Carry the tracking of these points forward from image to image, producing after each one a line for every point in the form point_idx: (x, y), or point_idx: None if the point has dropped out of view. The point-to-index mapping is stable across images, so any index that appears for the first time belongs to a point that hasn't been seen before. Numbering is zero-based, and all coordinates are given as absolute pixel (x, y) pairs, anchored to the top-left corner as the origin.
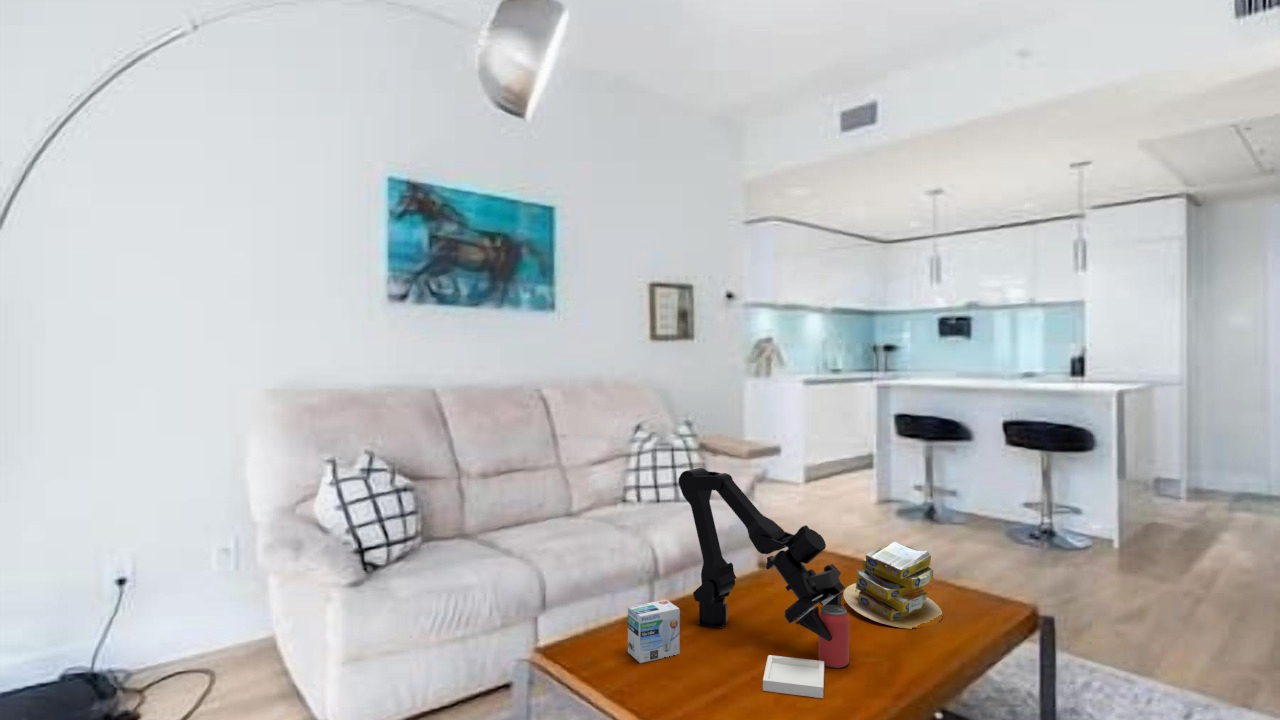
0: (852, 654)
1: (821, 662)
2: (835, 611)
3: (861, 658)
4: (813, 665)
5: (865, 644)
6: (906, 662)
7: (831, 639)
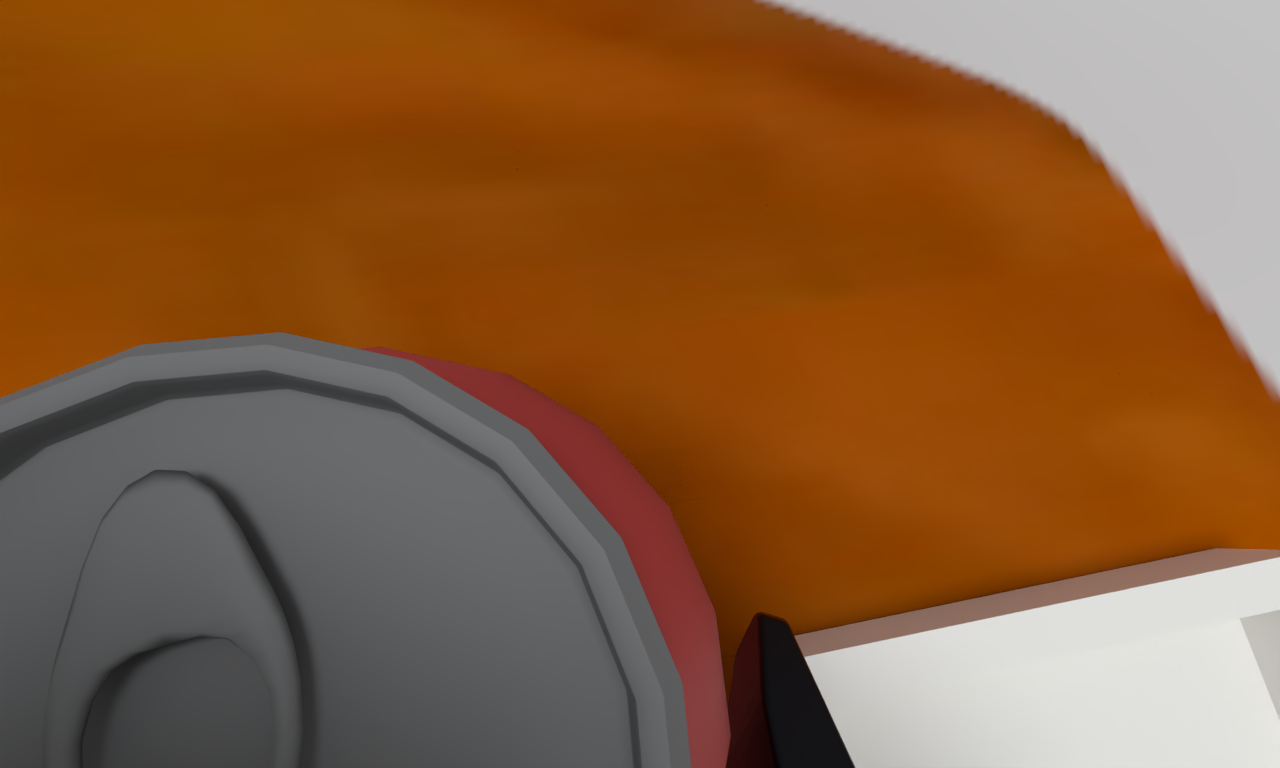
0: None
1: None
2: (274, 730)
3: None
4: None
5: None
6: (312, 80)
7: (786, 623)
